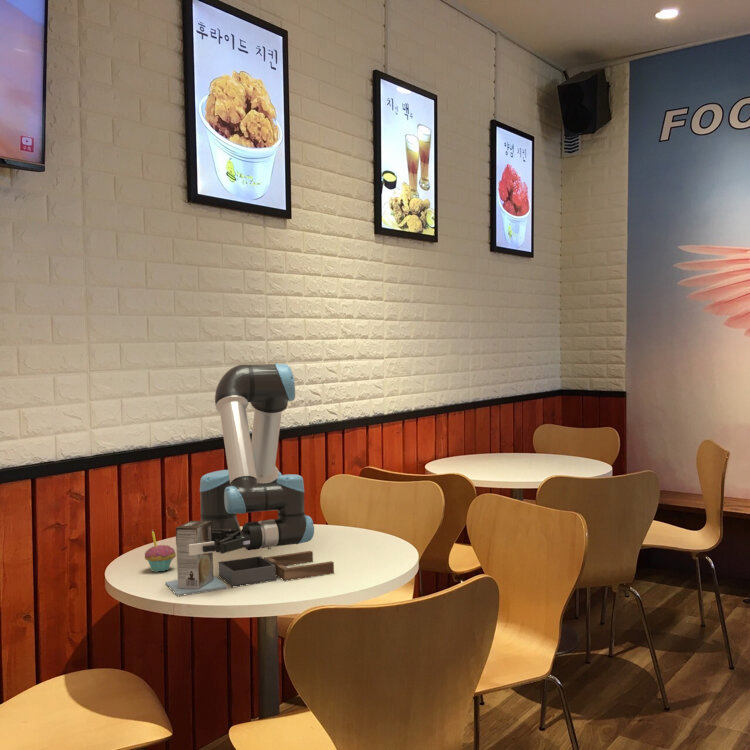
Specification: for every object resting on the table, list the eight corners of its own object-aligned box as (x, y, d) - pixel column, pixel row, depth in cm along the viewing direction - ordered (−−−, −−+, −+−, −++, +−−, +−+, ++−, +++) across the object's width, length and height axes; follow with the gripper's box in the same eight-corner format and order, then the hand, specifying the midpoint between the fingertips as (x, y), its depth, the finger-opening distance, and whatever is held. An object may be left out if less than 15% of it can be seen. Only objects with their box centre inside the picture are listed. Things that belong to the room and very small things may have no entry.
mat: (165, 584, 213) (165, 581, 213) (212, 577, 219) (212, 574, 219) (177, 596, 201) (177, 594, 201) (227, 588, 207) (226, 586, 207)
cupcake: (147, 575, 222) (145, 533, 222) (143, 568, 230) (142, 527, 229) (178, 571, 225) (177, 529, 225) (173, 564, 233) (172, 524, 233)
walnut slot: (264, 567, 228) (263, 557, 228) (310, 560, 234) (310, 550, 234) (284, 581, 213) (284, 570, 213) (333, 573, 220) (333, 562, 220)
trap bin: (218, 576, 219) (218, 562, 219) (260, 570, 225) (260, 556, 225) (232, 587, 208) (232, 572, 208) (275, 580, 214) (275, 565, 214)
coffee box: (192, 578, 215) (190, 520, 215) (214, 579, 214) (212, 520, 214) (176, 588, 206) (175, 527, 206) (199, 589, 205) (198, 527, 205)
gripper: (275, 558, 207) (195, 569, 197) (244, 539, 229) (171, 549, 219) (275, 529, 207) (194, 539, 197) (244, 514, 229) (170, 522, 219)
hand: (182, 544), depth 208 cm, fingers open, 13 cm apart
